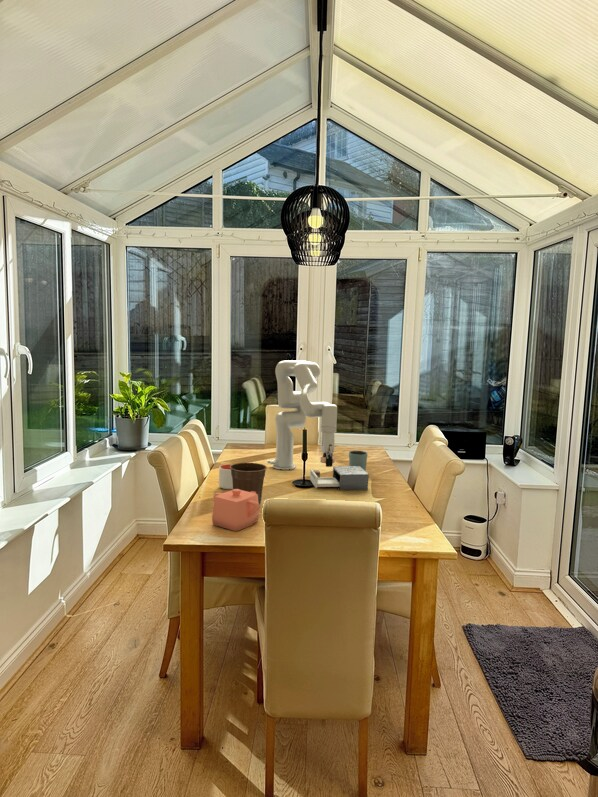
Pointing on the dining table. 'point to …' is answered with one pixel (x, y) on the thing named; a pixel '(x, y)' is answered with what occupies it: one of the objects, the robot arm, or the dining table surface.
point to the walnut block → (317, 473)
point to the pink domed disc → (323, 459)
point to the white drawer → (323, 481)
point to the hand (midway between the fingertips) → (327, 464)
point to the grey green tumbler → (358, 459)
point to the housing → (351, 477)
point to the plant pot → (248, 477)
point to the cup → (225, 477)
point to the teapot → (235, 509)
